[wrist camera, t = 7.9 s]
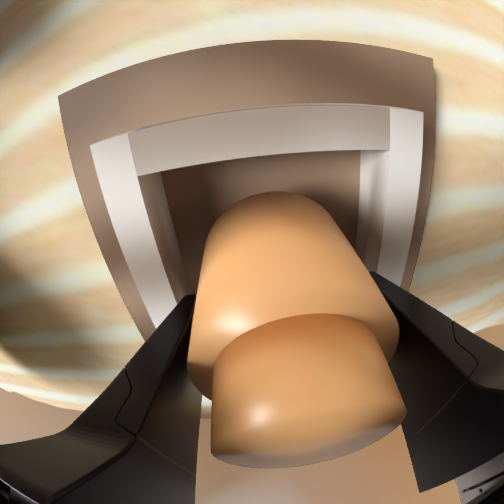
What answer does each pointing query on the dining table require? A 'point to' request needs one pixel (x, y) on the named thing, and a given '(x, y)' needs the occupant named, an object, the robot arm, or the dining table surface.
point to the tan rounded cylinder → (290, 338)
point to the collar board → (250, 154)
